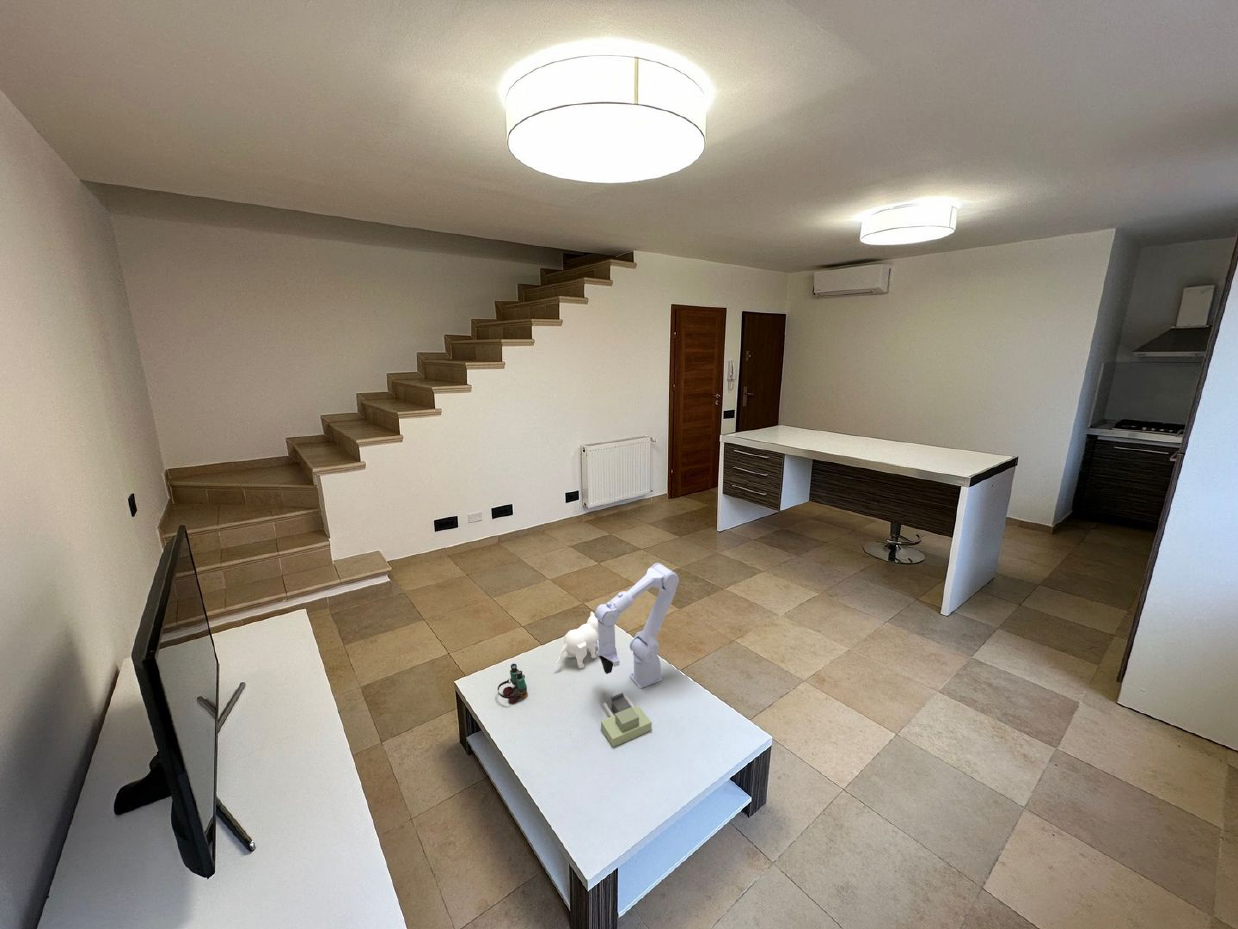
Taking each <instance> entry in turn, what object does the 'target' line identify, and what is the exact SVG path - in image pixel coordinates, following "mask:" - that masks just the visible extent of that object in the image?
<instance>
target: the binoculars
mask: <svg viewBox="0 0 1238 929" xmlns="http://www.w3.org/2000/svg"><path fill="white" fill-rule="evenodd" d="M509 674H510V678H509V679H507V680H505V681H503V682H501V683H500V684H499V685H498V686H497V693H498V695H499V696H500V697H501V698H503V699H507V700H508V702H509V704H515V703H516V702H518V701H519V698H523V699H524V698H527V697H528V695H529V693H528V686H527V682H526V680H525V679H526V676H525V674H523V670H519V669H518V666H517V664H516V663H512V664H511V665H510V670H509ZM506 684H512V685H513V686H507V687H504V688H503V690H502V693H503V694H502V693H500V692H499V690H500V688H501V686H503V685H506ZM514 691H516V693H514Z"/></svg>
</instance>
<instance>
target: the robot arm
mask: <svg viewBox="0 0 1238 929" xmlns="http://www.w3.org/2000/svg"><path fill="white" fill-rule="evenodd" d="M679 582H680V578H679V576H678V574H677V573H676V572H675V571H673V570H671V569H669V568H668V567H666V566H665V565H663V564H662V563H660V562H656V563H654V564H652V566H651V567H649V568H648V569H647V572H646V574H645V575H644V576H643V577H642V578H640V579H639V580H638V581H637V582H636V583H635V584H634V585H633V586H631V587H630V589H628V590H626V591H624V590H622V591H620V592H618V593H617V594H616V595H615V596H614V597H613V598H611V599H610V600H609V601H608V602H606V603H601V604H599V605H598V606H597V607H596V609H595V612H593V613H594V616H595V617H596V618H597V620H598V639H596V645H597V650H595V654H596V655H597V656H598V658H599V659H600V662H601V665H602V668H603V672H604V673H605V674H606V675H608V674H611V673H612V671H613V667H614V668H615V667H618V666H620V659H619V656H618V652H617V648H616V623H617V621H618V620H619V618H620V616H621V615H622V614H623V613H624V612H625V611H626V610H628V609H629V608H630V607H631V606H633V604H634V600H635V599H636V598H638V597H639V596H641V595H642V594H644V593H646V591H648V590H649V589H651V588H655V589H658V594H657V595H656V599H655V601H654V603H653V606H652V608H651V610H650V613H649V615H648V618H647V619H646V622H645V625H644V627H643V629H642V630H641V631H636V634H635V636H634V637H633V638H632V639H631V641H630V643H629V649H630V651H631V652H632V655H633V673H630V674H629V678H631V679H632V681H633V682H634V684H636V686H637V687H638V688H639V689H643V688H646V687H648V686H651V685H653V684H655V683H658V682H661V681H662V680H663V679H662V675H661V669H662V668H661V660H660V657H659V655H658V650H659V647H660V644H659V640H658V638H657V637H658V635H659V632H660V629H661V627H662V625H663V623H664V620H665V619H666V616H667V614H668V611H669V608H670V606H671V604H672V603H673V602H672V601H673V599H674V598H675V595H676V591H677V587H678V584H679Z"/></svg>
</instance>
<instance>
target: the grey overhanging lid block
mask: <svg viewBox="0 0 1238 929" xmlns="http://www.w3.org/2000/svg"><path fill="white" fill-rule="evenodd" d="M630 707H631V706H630V704H629V703H628V702H627V700H626V699H625V698H624V693H623V692H621V693H617V694H615V695H613V696H611V697H610V710H611V712H612V713H613V715H615V713H618V712H620V711H623V710H625V709H628V708H630Z"/></svg>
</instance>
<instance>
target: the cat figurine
mask: <svg viewBox="0 0 1238 929" xmlns="http://www.w3.org/2000/svg"><path fill="white" fill-rule="evenodd" d="M594 613H595V612H593V611H590V613H589V617H588V618H587V622H586V623H583V624H581V626H579V627H578V628H575V629H571V630H569V631H568V632H567V633H566V634H565V635H564V639H563V640H564V641H563V647H562V648H561V650H560V652H559V657H558V659H557V660H556V661H555V664H558V663H560V662H561V660H562V659H563V655H564V653H566V657H568V658H569V659H571V658H576V663H577V667H578V668H579V669H584V668H585V663H583V660H584V659H585V657H586V656H587V654H588V653H590V658H591V659H596V658H597V656H598V655H597V654H596V645H597V644H596V639H598V620H597V618H596V617H595V616H594ZM587 650H588V653H587Z"/></svg>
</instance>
